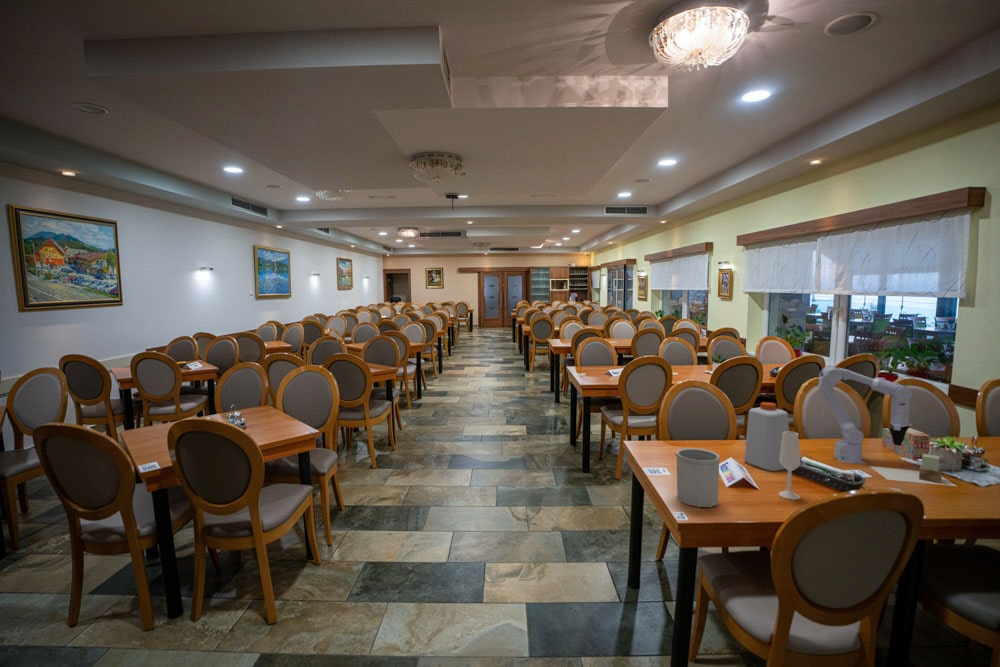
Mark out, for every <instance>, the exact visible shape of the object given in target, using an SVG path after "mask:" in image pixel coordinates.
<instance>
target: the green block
mask: <svg viewBox="0 0 1000 667" xmlns="http://www.w3.org/2000/svg"><path fill="white" fill-rule="evenodd" d="M921 465H922V469H927V470H933V471H938V470H939V468H940V456H939V455H934V454H930V453H929V454H923V456H922V461H921Z"/></svg>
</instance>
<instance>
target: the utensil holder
mask: <svg viewBox="0 0 1000 667" xmlns="http://www.w3.org/2000/svg"><path fill="white" fill-rule="evenodd" d="M675 457H676V487H677V490H676V491H677V499H678V498H679V499H680V500H681V501H682V503H683V502H684V503H683V504H685V503H687V504H690V505H693V506H692V507H694V506H698V507H697V508H700V507H710V508H713V507H712V506H714V507H716V506H718V505H719V504H718V503H719V483H720V482H719V481H720V480H719V479H720V461H721V456H720V454H718V453H717V452H716V451H713V450H710V449H704V448H695V447H685V448H679V449H677V450H676V451H675ZM679 499H678V500H679ZM680 500H679V501H680ZM681 501H680V502H681ZM687 504H686V505H687ZM690 505H689V506H690ZM715 505H716V506H715Z"/></svg>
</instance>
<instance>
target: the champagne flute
mask: <svg viewBox="0 0 1000 667" xmlns="http://www.w3.org/2000/svg"><path fill="white" fill-rule="evenodd" d="M799 440H800V439H799V433H798V432H795V431H790V430H789V431H784V432H783V436H782V443H781V451H780V458H779V461H780V463H781V465H782V466H783V467H784V468H785V469H784V470H787V482H786V483H787V486H786V487H787V488H786V490H783V491H779V492H778V495H779V496H781V497H782V498H784V499H789V500H799V499H800V497H801V496H800V495H798V494H797V493H795V492H794V491H792V471H795V470H797V469H798V468H799V467H800V465H802V463H801V451H800V441H799Z"/></svg>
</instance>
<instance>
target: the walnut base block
mask: <svg viewBox="0 0 1000 667" xmlns="http://www.w3.org/2000/svg"><path fill="white" fill-rule="evenodd" d="M918 471H919V479H920V480H925V481H929V482H934V483H939V484H940V483H941V476H942V474H943V469H942V468H941V467H939V470H938V471H933V470H927V469H922V464H920V466H919V470H918ZM942 477H943V476H942ZM939 484H938V485H939Z"/></svg>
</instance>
